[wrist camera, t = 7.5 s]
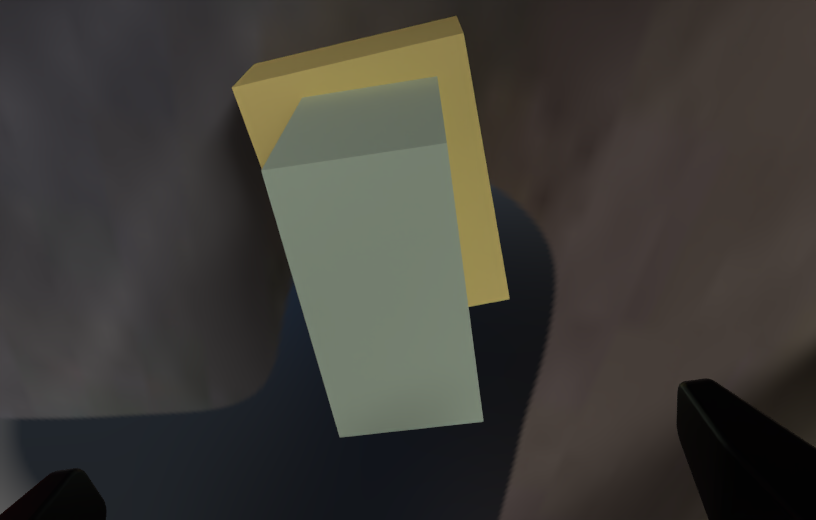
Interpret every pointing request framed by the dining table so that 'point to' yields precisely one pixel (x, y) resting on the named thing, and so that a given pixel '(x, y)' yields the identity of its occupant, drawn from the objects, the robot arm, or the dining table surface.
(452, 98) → the mustard slab
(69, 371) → the dining table surface
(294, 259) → the sage block
